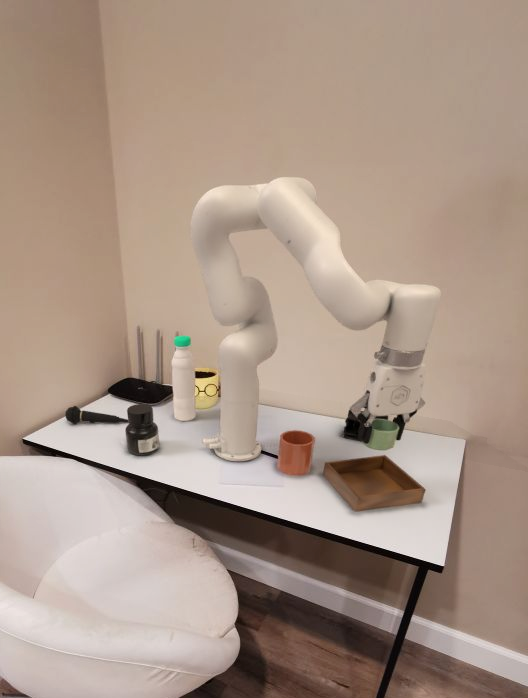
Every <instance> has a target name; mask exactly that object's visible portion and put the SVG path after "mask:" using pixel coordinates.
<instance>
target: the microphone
mask: <svg viewBox="0 0 528 698" xmlns="http://www.w3.org/2000/svg"><path fill="white" fill-rule="evenodd" d="M64 416H65V419H66V420H67V422H69V423H71V424H72V425H77V424H79V423H80V422H84V423H90V424H95V423H101V424H102V423H105V424H117V423H118V424H119V423H129V422H128V418H124V417H120V416H117V415H113V414H107V413H101V412H95V411H88V410H81V408H79V407H78V406H77V405H74V406H70V407H68V408H67V409H66V411H65V415H64Z"/></svg>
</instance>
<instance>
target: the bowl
mask: <svg viewBox="0 0 528 698" xmlns="http://www.w3.org/2000/svg"><path fill="white" fill-rule="evenodd" d="M392 421H393V420H392ZM392 421H391V420H390V419H388V420H385V419H374V420H373V422H372V423H371V426H372V432H371V436H370V439H369V443H367V444H365V443H363V442H362V441H361V442H362V444H363V445H365V446H366V447H367V448H368V449H372V450H375V451H388V450H391V449H393V448H394V447H395V445H396V442H397V440H396V439H397V435H398V432H399V425H397V424H396V423H395V422H392Z"/></svg>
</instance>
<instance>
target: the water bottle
mask: <svg viewBox="0 0 528 698" xmlns="http://www.w3.org/2000/svg"><path fill="white" fill-rule="evenodd" d="M173 343H174V347H175V351H174V353H173V356H172V358H171V361H170V362H171V363H170V364H171V385H172V386H171V387H172V394H173V397H172V403H173V417H174V419H176V420H177V421H181V422H188V421H192V420H194V419H195V418H196V416H197V409H196V403H197V402H196V401H197V399H196V367H195V365H196V359H195V357H194V355H193V352H192V351H191V350H190V347H191V344H192V338H191V337H190V336H189V335H177V336H175V337H174V341H173Z"/></svg>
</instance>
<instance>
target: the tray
mask: <svg viewBox="0 0 528 698" xmlns="http://www.w3.org/2000/svg"><path fill="white" fill-rule="evenodd" d="M322 475H323V477H324V478H325V479H326V480H327V481H328V482H329V484H330V485H331V486H332V487H333V489H334V490H335V491H336V492H337V493H338V495H340V496H341V498H342V499H343V500H344V501H345V502H346V503H347V504H348V506H349V507H350V508H351V509H352V511H353V512H355V513H357V512H363V511H372V510H380V509H386V508H387V509H388V508H394V507H402V506H410V505H417V504H422V502H423V500H424V496H425V494H426V488H425V487H424V486H422V485H421V484H420V483H419V482H418V481H416V479H414V478H413V477H412V476H411V475H409V473H408V472H406V471H405V470H404V469H402V468H401V467H400V466H399V465H398V464H397V463H396V462H394V461H393V460H392V459H390V457H388V456H387V455H386V454H383V455H374V456H366V457H365V456H364V457H358V458H350V459H349V458H348V459H341V460H340V459H339V460H333V461H325V462H324V468H323V473H322Z"/></svg>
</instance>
